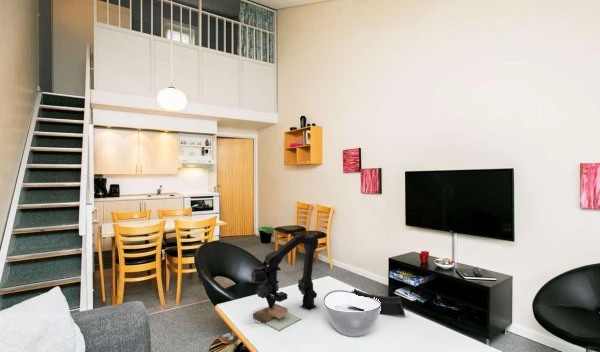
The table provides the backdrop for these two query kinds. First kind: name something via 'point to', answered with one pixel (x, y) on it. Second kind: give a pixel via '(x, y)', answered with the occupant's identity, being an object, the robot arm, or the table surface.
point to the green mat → (283, 322)
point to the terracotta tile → (277, 312)
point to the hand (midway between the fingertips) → (270, 309)
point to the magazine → (386, 303)
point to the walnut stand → (265, 314)
